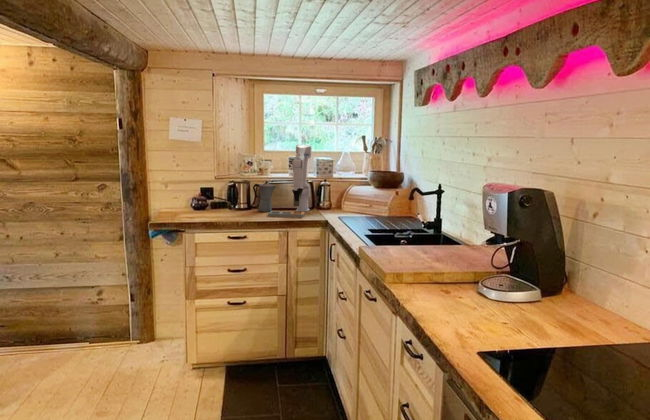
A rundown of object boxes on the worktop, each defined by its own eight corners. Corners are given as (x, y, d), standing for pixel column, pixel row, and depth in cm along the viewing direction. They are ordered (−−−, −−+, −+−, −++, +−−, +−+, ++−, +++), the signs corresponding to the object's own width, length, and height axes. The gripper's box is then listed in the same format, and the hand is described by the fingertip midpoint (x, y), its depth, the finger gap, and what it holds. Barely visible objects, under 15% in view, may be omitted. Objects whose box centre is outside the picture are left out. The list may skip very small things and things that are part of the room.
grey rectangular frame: (271, 214, 308) (271, 210, 307) (305, 215, 304) (305, 212, 304) (268, 216, 300) (268, 212, 299) (302, 217, 297) (302, 214, 296)
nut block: (294, 205, 302) (294, 192, 301) (300, 205, 302) (300, 193, 300) (293, 206, 299) (293, 193, 297) (299, 206, 298) (299, 193, 297)
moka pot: (275, 212, 314) (275, 182, 311) (251, 212, 314) (251, 181, 311) (276, 210, 323) (276, 180, 320) (254, 209, 324) (253, 180, 320)
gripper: (294, 177, 305) (293, 198, 307) (288, 179, 291) (288, 202, 293) (304, 177, 304) (304, 199, 306) (300, 180, 290) (300, 202, 292)
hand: (297, 200), depth 299 cm, fingers closed on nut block, 4 cm apart
